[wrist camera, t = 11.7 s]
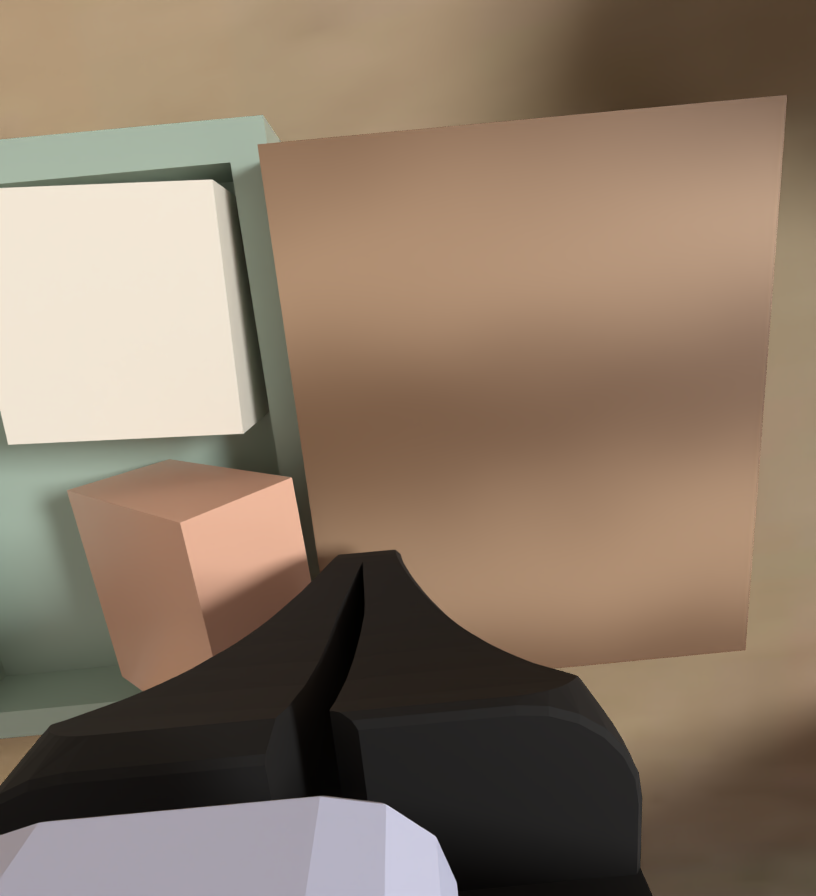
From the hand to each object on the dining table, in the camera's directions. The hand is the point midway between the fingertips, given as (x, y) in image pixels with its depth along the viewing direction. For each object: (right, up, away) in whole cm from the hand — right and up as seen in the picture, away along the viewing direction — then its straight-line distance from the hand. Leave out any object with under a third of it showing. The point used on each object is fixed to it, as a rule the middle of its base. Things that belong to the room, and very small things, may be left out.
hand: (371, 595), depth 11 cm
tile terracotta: (-3, 0, +2) cm, 4 cm away
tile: (-5, +6, +2) cm, 9 cm away
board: (+3, +4, +3) cm, 6 cm away
